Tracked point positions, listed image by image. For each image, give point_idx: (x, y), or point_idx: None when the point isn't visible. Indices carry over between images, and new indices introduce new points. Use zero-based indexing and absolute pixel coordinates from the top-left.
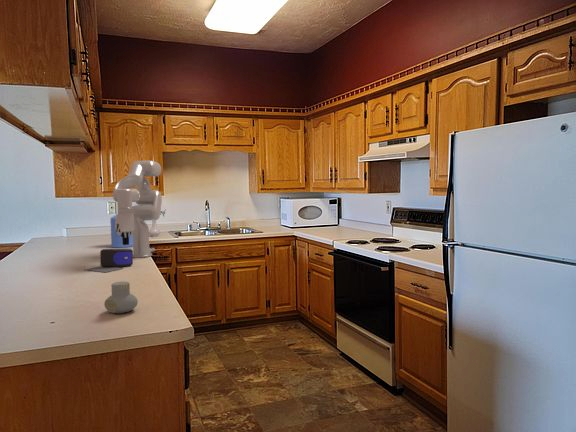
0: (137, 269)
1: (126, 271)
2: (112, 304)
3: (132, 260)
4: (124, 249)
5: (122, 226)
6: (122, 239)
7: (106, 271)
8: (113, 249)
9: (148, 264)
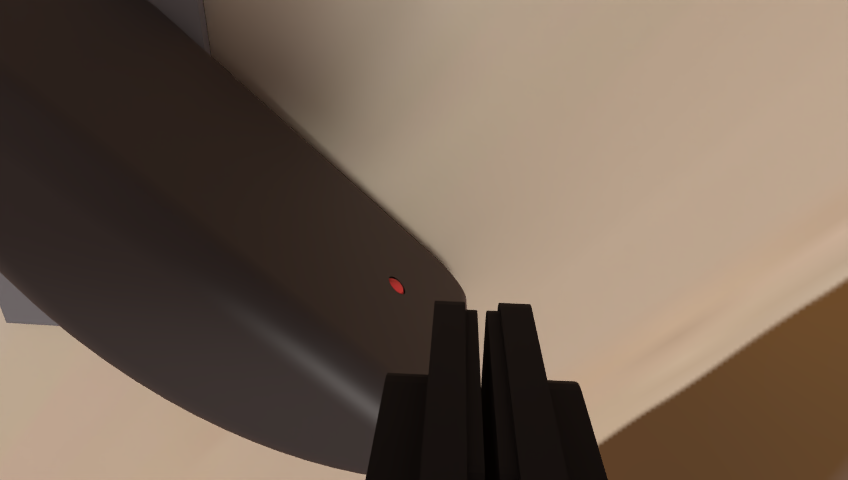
0: (322, 467)
1: (195, 441)
2: None
3: None
4: (274, 449)
5: None
6: (370, 461)
7: (28, 310)
8: (70, 323)
9: (610, 400)
